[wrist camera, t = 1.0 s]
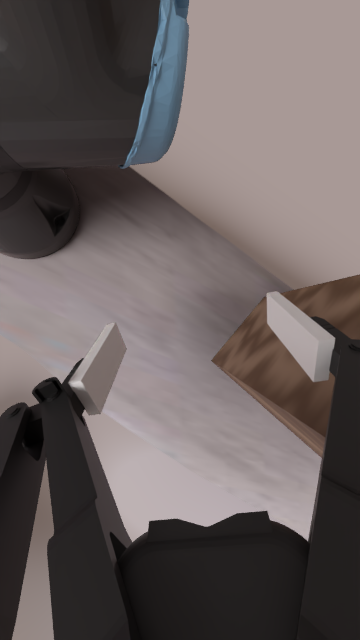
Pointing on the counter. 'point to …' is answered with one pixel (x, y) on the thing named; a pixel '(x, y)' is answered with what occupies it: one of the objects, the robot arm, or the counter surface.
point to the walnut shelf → (291, 359)
